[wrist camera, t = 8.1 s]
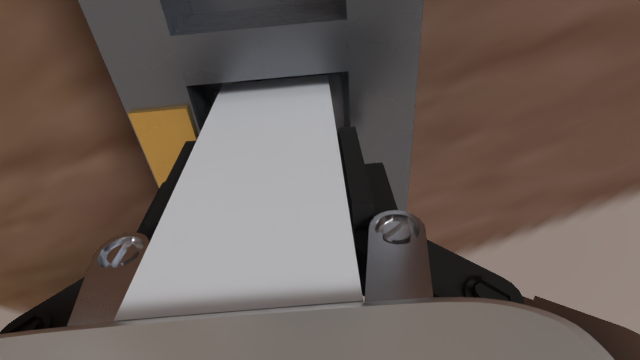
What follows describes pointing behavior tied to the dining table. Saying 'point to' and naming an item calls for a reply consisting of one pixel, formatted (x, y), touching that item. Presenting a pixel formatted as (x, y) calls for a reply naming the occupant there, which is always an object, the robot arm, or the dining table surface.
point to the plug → (254, 211)
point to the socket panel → (263, 66)
